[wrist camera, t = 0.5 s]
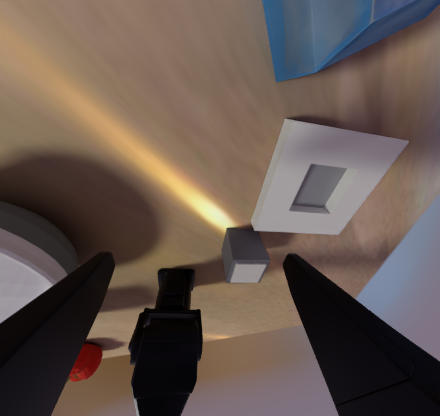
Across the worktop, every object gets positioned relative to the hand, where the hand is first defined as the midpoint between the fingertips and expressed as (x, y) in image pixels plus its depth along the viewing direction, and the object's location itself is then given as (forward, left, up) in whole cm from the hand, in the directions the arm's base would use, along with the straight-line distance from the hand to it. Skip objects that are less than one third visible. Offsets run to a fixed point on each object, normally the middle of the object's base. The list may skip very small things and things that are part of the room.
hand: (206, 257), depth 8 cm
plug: (-12, -7, -13) cm, 19 cm away
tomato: (-55, +28, -13) cm, 63 cm away
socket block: (-1, -15, -13) cm, 20 cm away
